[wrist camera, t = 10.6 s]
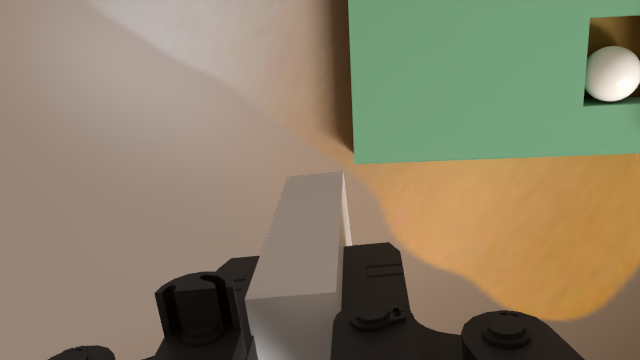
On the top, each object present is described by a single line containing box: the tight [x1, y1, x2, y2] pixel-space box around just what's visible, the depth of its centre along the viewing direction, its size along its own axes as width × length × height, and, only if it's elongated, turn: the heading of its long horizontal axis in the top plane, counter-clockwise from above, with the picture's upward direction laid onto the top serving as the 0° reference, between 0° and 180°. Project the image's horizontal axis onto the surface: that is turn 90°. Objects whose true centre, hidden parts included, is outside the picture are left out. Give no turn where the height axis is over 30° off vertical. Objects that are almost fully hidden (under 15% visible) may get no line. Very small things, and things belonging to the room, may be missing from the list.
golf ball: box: [585, 46, 640, 101], centre depth 38 cm, size 4×4×4 cm
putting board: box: [348, 0, 640, 164], centre depth 38 cm, size 12×22×6 cm, turn 93°
